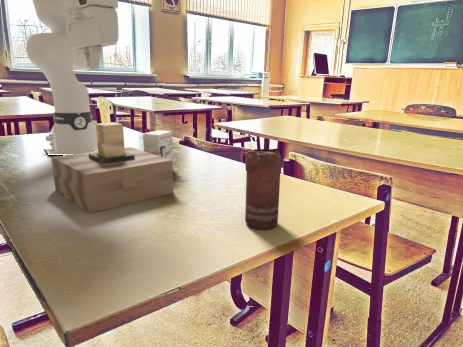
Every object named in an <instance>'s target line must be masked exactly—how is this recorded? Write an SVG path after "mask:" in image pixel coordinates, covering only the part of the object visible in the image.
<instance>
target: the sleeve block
mask: <svg viewBox="0 0 463 347" xmlns="http://www.w3.org/2000/svg"><path fill="white" fill-rule="evenodd" d="M124 149H125V155H123V156H116V157H109V158H104V157H102V156H99V155H98V151H96V152H89V153H81V154H73V155H65V156H51V164H52V171H53V172H52V173H53V179H54V180H53V181H54V189H56V190H57V191H56V190H55V191H56V192H58V191H59V192H60V193H62V194H63V195H65V196H66V197H68V198H69V199H70V200H69V199H68V198H67V199H68V200H69V201H71V200H72V201H73V202H72V201H71V202H72V203H73V204H75V203H76V204H77V205H76V204H75V205H76V206H78V207H79V208H81V209H82V210H84V211H85V212H86V213H88V214H93V213H97V212H101V211H105V210H109V209H110V210H111V209H113V208H114V209H115V208H117V207H118V208H119V207H123V206H126V205H130V203H131V204H134V203H139V202H143V201H146V200H150V199H154V198H160V197H163V196H168V195H172V194H174V171H173V160H171V159H167V158H164V157H161V156H158V155H154V154H151V153H148V152H145V151H144V150H142V149H138V148H135V147H131V146H129V147H124ZM59 192H58V193H59ZM60 193H59V194H60ZM62 194H61V195H62ZM63 195H62V196H63ZM65 196H64V197H65ZM66 197H65V198H66Z"/></svg>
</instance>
